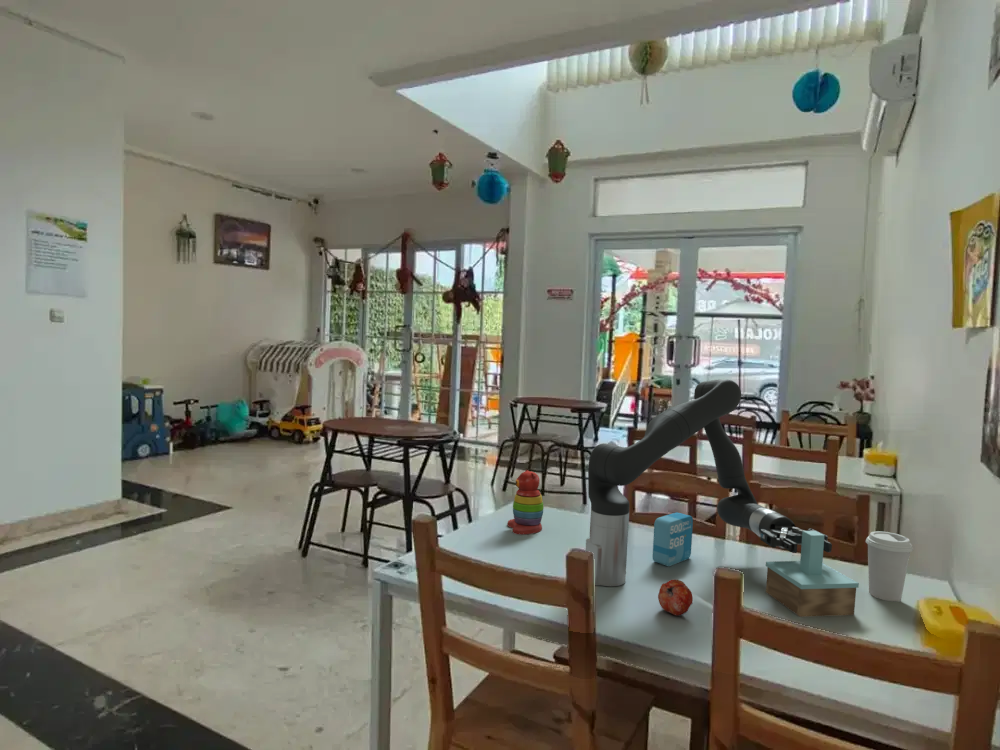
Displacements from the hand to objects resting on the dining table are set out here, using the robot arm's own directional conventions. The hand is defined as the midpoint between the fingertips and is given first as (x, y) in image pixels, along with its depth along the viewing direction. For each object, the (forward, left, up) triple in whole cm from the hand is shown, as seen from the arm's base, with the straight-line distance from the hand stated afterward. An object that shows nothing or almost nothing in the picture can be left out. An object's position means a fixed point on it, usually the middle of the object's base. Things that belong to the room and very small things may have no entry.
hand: (813, 548), depth 143 cm
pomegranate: (-32, +5, -14) cm, 35 cm away
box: (0, 0, -14) cm, 14 cm away
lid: (0, 0, -7) cm, 7 cm away
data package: (-14, +33, -14) cm, 39 cm away
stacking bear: (-43, +67, -14) cm, 81 cm away
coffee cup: (+22, -1, -14) cm, 26 cm away
